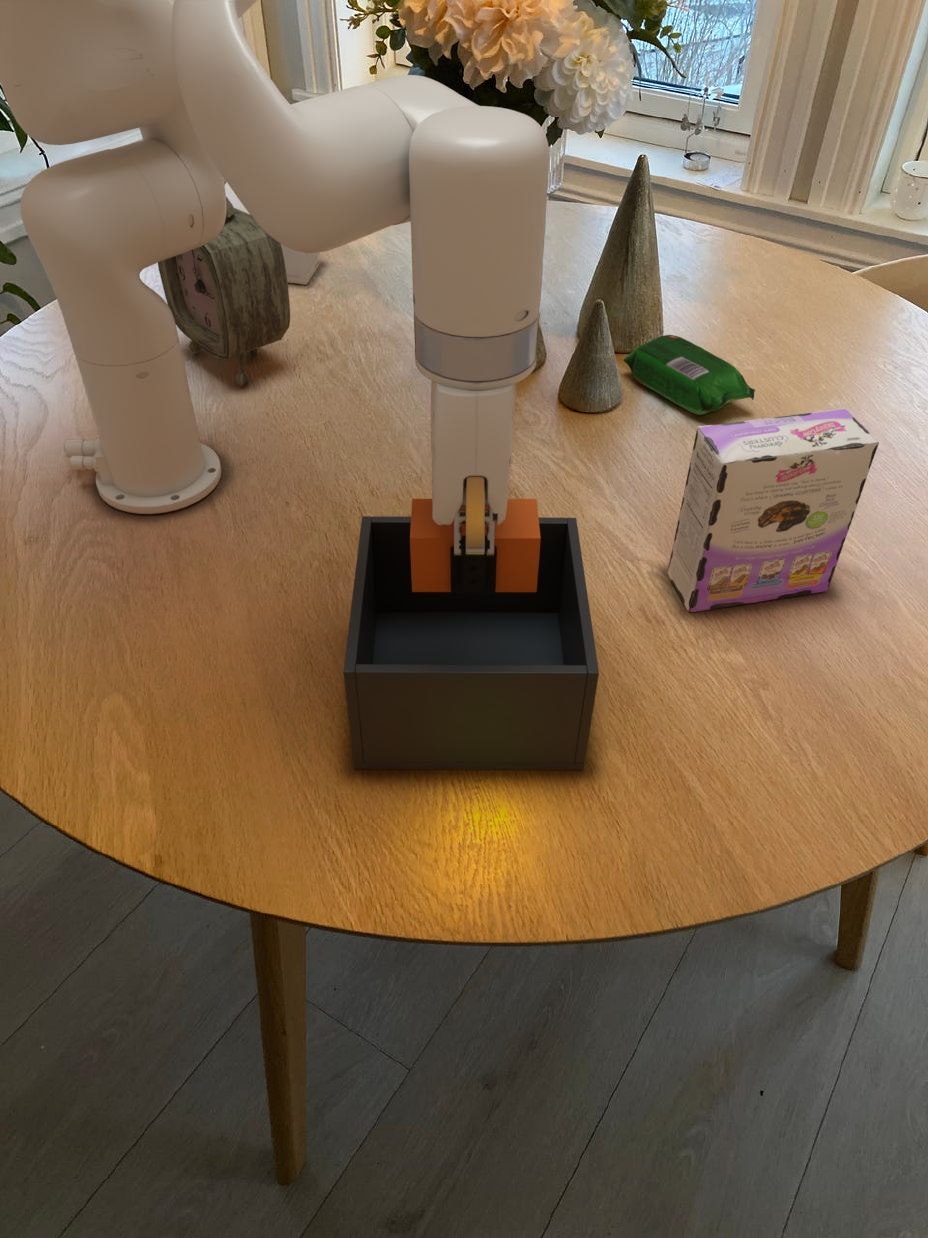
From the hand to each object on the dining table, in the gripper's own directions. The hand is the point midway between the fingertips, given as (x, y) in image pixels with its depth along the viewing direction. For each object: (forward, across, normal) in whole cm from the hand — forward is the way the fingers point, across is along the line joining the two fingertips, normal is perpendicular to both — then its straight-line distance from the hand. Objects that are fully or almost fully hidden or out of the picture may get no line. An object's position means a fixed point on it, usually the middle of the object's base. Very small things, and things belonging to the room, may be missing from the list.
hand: (472, 565), depth 71 cm
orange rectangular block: (+1, 0, 0) cm, 1 cm away
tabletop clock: (+13, -54, -28) cm, 62 cm away
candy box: (+13, -13, +26) cm, 32 cm away
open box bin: (+13, 0, 0) cm, 13 cm away
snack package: (+13, -47, +26) cm, 55 cm away
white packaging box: (+13, -80, -25) cm, 85 cm away
